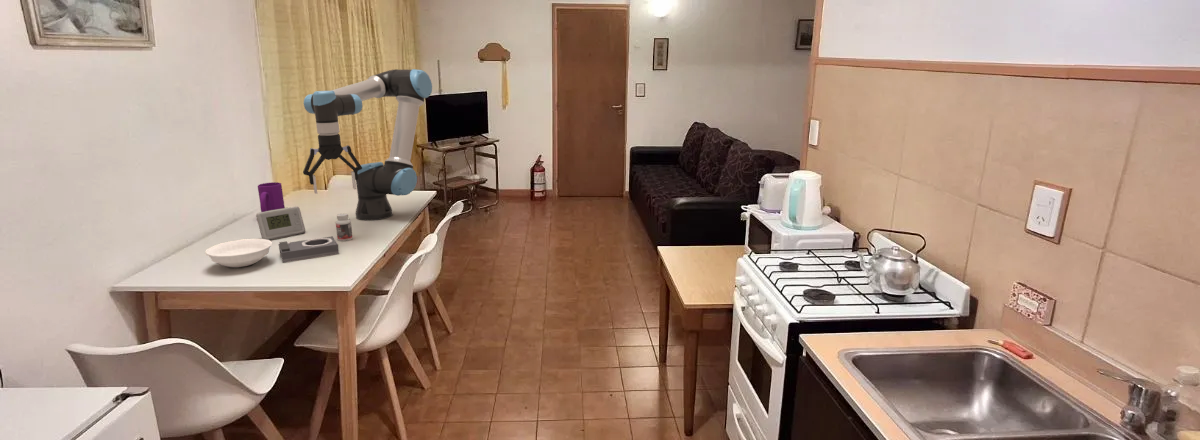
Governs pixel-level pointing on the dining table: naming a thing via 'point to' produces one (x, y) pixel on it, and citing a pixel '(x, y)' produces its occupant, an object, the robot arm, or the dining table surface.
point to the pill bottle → (343, 227)
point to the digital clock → (280, 223)
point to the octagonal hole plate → (308, 249)
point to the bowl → (239, 252)
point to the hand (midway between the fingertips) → (335, 190)
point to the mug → (270, 196)
